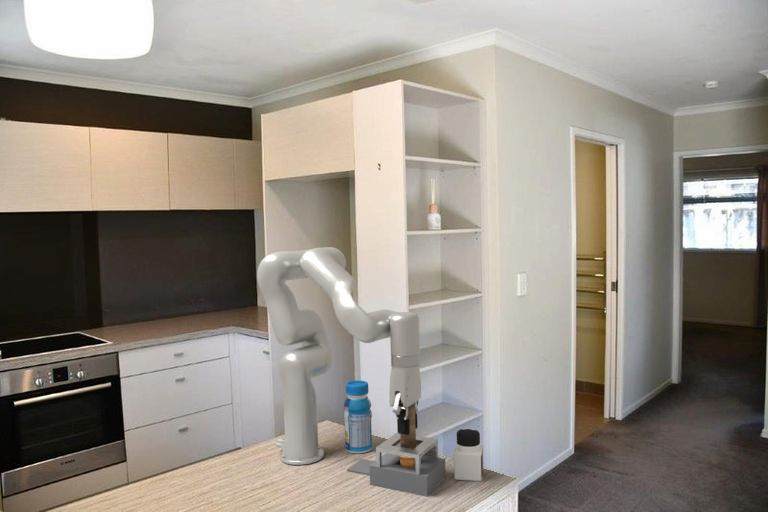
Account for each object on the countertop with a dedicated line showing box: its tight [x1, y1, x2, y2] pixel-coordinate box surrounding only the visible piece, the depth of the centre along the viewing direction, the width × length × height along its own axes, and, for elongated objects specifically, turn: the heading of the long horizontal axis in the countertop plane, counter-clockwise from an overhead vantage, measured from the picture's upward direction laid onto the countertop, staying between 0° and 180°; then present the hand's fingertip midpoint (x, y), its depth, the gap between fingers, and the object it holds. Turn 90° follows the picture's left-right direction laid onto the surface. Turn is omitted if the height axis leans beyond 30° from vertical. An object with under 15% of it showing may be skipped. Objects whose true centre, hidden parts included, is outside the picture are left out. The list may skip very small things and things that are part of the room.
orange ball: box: [398, 455, 416, 468], centre depth 152 cm, size 5×5×6 cm
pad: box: [346, 458, 376, 476], centre depth 161 cm, size 8×8×1 cm
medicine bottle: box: [453, 427, 484, 482], centre depth 155 cm, size 7×7×12 cm
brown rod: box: [400, 402, 417, 457], centre depth 151 cm, size 4×4×16 cm
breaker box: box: [369, 453, 447, 497], centre depth 152 cm, size 16×12×5 cm
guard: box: [375, 432, 439, 475], centre depth 152 cm, size 12×12×5 cm
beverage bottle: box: [343, 380, 373, 455], centre depth 175 cm, size 8×8×20 cm
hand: (407, 430), depth 151 cm, fingers closed on brown rod, 4 cm apart
